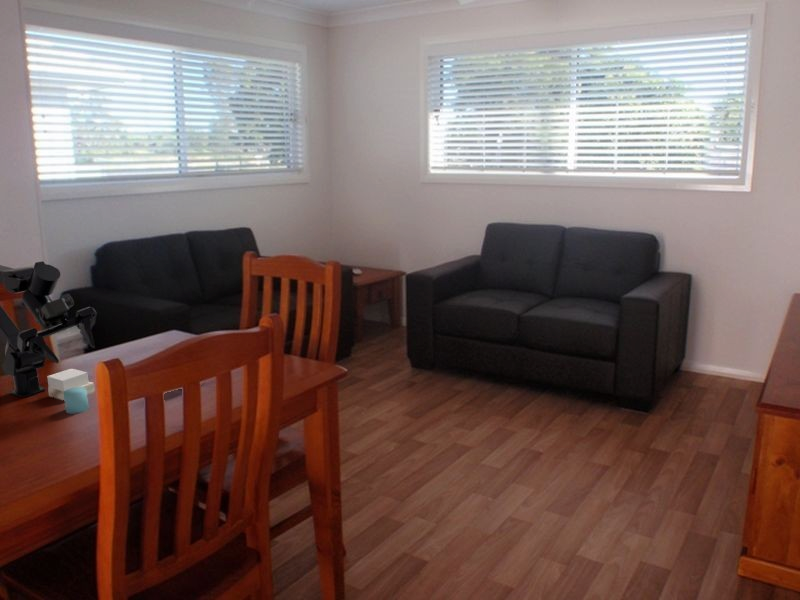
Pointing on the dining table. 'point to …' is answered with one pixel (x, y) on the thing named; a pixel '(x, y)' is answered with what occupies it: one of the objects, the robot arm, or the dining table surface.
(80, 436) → the dining table surface
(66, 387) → the top block
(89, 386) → the base slab
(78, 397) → the light teal cube
